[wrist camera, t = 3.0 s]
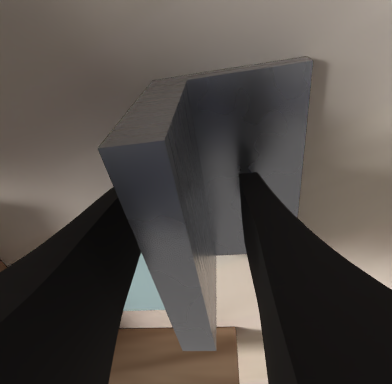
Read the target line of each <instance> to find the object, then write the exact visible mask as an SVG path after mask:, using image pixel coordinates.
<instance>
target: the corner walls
mask: <svg viewBox="0 0 392 384" xmlns="http://www.w3.org/2000/svg"><path fill="white" fill-rule="evenodd" d="M6 268H7V267H6V266H5V265H4V264H3V262H2V261H1V260H0V272H1V271H3V270H4V269H6ZM109 384H239V370H238V354H237V338H236V329H235V327H216V351H183V350H182V348H181V346H180V343H179V341H178V339H177V336H176V334H175V331H174V329H173V328H149V329H119V331H118V336H117V340H116V345H115V351H114V356H113V362H112V367H111V373H110V378H109Z"/></svg>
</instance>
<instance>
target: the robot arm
mask: <svg viewBox="0 0 392 384" xmlns="http://www.w3.org/2000/svg"><path fill="white" fill-rule="evenodd" d="M239 186H240V200H241V214H242V225H243V234H244V243H245V247H246V252H247V257H248V261H249V266H250V270H251V275H252V279H253V284H254V288H255V293H256V297H257V302H258V307H259V313H260V320H261V328H262V335H263V343H264V351H265V359H266V367H267V375H268V383H269V384H392V290H391V289H390V288H388V287H386V286H385V285H383V284H382V283H380V282H379V281H377V280H376V279H374V278H373V277H371V276H370V275H369V274H367V273H366V272H364V271H363V270H361V269H360V268H358V267H357V266H355V265H354V264H352V263H351V262H349V261H348V260H347V259H345V258H344V257H343V256H341V255H340V254H339V253H337V252H336V251H335V250H333V249H332V248H331V247H330V246H328V245H327V244H326V243H325V242H323V241H322V240H321V239H320V238H319V237H317V236H316V235H315V234H314V233H313V232H312V231H311V230H309V229H308V228H307V227H306V226H305V225H304V224H303V223H302V222H301V221H300V220H299V219H298V218H297V217H296V216H295V215H294V214H293V213H292V212H291V211H290V210H289V209H288V208H287V207H286V206H285V205H284V204H283V203H282V202H281V201H280V200H279V198H278V197H277V196H276V195H275V194H274V193H273V191H272V190H271V189H270V188H269V187H268V185H267V184H266V183H265V181H264V180H263V178H262V177H261V176H260V174H258V173H257V172H252V173H242V174H239ZM140 254H141V250H140V248H139V246H138V243H137V241H136V239H135V236H134V234H133V231H132V229H131V227H130V224H129V222H128V219H127V217H126V215H125V212H124V210H123V208H122V205H121V203H120V200H119V198H118V196H117V193H116V191H115V189H114V187H113V188H112V189H110V190H109V191H108V192H106V193H105V194H104V195H103V196H101V197H100V198H99V199H98V200H96V201H95V202H94V203H93V204H92V205H91V206H89V207H88V208H87V209H86V210H85V211H83V212H82V213H81V214H80V215H79V216H77V217H76V218H75V219H74V220H72V221H71V222H70V223H69V224H67V225H66V226H65V227H64V228H62V229H61V230H60V231H58V232H57V233H56V234H55V235H53V236H52V237H51V238H49V239H48V240H47V241H45V242H44V243H43V244H41V245H40V246H39V247H37V248H36V249H34V250H33V251H32V252H30V253H29V254H27V255H26V256H24V257H23V258H21V259H20V260H18V261H17V262H15V263H14V264H12V265H11V266H9V267H8V268H6V269H4V270H3V271H1V272H0V384H109V378H110V373H111V367H112V362H113V356H114V351H115V345H116V340H117V336H118V331H119V326H120V321H121V317H122V313H123V309H124V306H125V302H126V299H127V296H128V293H129V290H130V286H131V283H132V280H133V277H134V274H135V271H136V267H137V264H138V261H139V257H140Z"/></svg>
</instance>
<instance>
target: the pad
mask: <svg viewBox="0 0 392 384" xmlns="http://www.w3.org/2000/svg"><path fill="white" fill-rule="evenodd" d="M136 310H165V308H164V305H163V303H162V300H161V298H160V296H159V293H158V291H157V289H156V286H155V284H154V281H153V279H152V277H151V274H150V272H149V269H148V267H147V265H146V262H145V260H144V258H143V255H142V253H141V254H140V257H139V261H138V264H137V267H136V271H135V274H134V277H133V280H132V283H131V286H130V290H129V293H128V296H127V299H126V302H125V306H124V309H123V311H136Z"/></svg>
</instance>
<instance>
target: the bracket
mask: <svg viewBox="0 0 392 384" xmlns="http://www.w3.org/2000/svg"><path fill="white" fill-rule="evenodd" d="M312 67H313V60H312V59H310V58H308V57H306V56H305V57H299V58H292V59H286V60H280V61H273V62H267V63H260V64H254V65H248V66H241V67H235V68H229V69H222V70H216V71H209V72H203V73H197V74H190V75H184V76H178V77H171V78H165V79H158V80H153V81H152V82H151V83H150V84H149V86H148V87H147V88H146V89H145V91H144V92H143V93H142V94H141V96H140V97H139V98H138V99H137V101H136V102H135V103H134V104H133V105H132V107H131V108H130V109H129V110H128V112H127V113H126V114H125V115H124V117H123V118H122V119H121V120H120V121H119V123H118V124H117V125H116V126H115V128H114V129H113V130H112V131H111V133H110V134H109V135H108V136H107V138H106V139H105V140H104V141H103V142H102V144H101V145H100V146H99V147H98V150H99V153H100V155H101V158H102V160H103V162H104V165H105V167H106V169H107V172H108V174H109V177H110V179H111V181H112V184H113V186H114V189H115V191H116V193H117V196H118V198H119V200H120V203H121V205H122V208H123V210H124V212H125V215H126V217H127V219H128V222H129V224H130V227H131V229H132V231H133V234H134V236H135V239H136V241H137V243H138V246H139V248H140V250H141V253H142V255H143V258H144V260H145V262H146V265H147V267H148V269H149V272H150V274H151V277H152V279H153V281H154V284H155V286H156V289H157V291H158V293H159V296H160V298H161V300H162V303H163V305H164V308H165V310H166V312H167V315H168V317H169V320H170V322H171V324H172V327H173V329H174V331H175V334H176V336H177V339H178V341H179V343H180V346H181V348H182V350H183V351H216V255H235V254H247V252H246V247H245V243H244V234H243V225H242V214H241V200H240V186H239V174H242V173H252V172H257V173H258V174H260V176H261V177H262V178H263V180H264V181H265V183H266V184H267V185H268V187H269V188H270V189H271V190H272V191H273V193H274V194H275V195H276V196H277V197H278V198H279V200H280V201H281V202H282V203H283V204H284V205H285V206H286V207H287V208H288V209H289V210H290V211H291V212H292V213H293V214H294V215H295V216H296V217H297V218H298V208H299V198H300V188H301V178H302V168H303V158H304V148H305V137H306V127H307V117H308V107H309V97H310V87H311V77H312Z"/></svg>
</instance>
